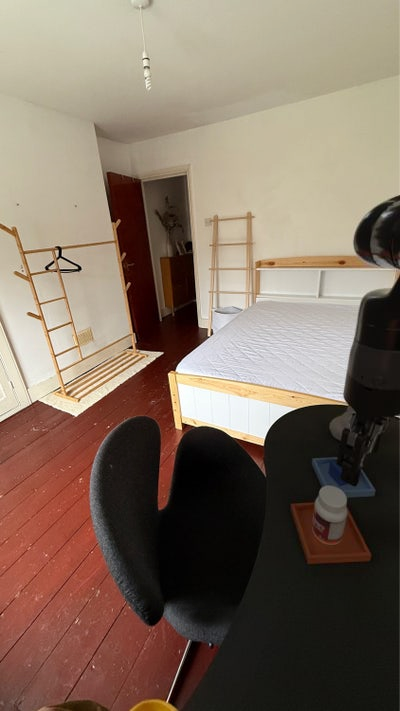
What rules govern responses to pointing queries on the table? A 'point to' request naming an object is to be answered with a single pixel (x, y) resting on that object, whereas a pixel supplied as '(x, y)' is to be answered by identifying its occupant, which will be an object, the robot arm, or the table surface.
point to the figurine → (340, 423)
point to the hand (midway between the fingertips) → (360, 465)
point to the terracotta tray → (318, 552)
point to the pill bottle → (329, 515)
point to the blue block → (336, 472)
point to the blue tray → (360, 490)
